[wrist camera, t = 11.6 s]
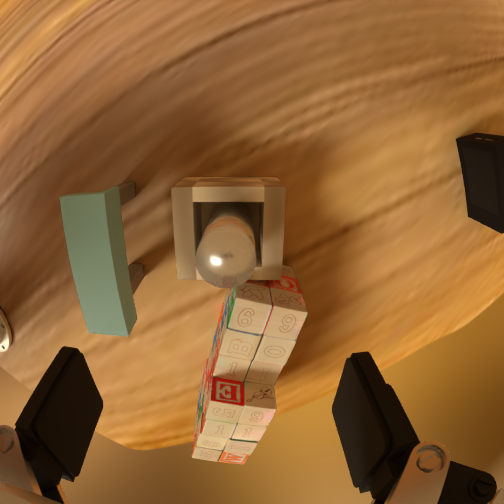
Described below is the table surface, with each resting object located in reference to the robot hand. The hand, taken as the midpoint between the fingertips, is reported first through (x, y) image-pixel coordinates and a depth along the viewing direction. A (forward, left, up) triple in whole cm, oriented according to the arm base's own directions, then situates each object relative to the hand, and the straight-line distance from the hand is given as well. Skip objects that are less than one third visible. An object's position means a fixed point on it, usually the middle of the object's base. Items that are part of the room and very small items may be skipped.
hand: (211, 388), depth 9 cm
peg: (0, 0, -21) cm, 21 cm away
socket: (0, 0, -22) cm, 22 cm away
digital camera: (+31, +7, -22) cm, 39 cm away
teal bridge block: (-10, -1, -22) cm, 24 cm away
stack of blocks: (+1, -15, -22) cm, 27 cm away
